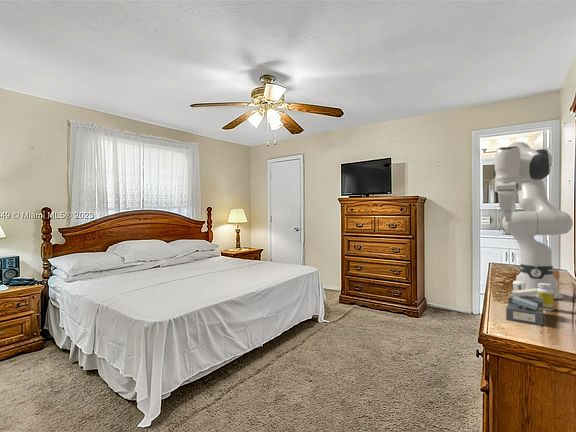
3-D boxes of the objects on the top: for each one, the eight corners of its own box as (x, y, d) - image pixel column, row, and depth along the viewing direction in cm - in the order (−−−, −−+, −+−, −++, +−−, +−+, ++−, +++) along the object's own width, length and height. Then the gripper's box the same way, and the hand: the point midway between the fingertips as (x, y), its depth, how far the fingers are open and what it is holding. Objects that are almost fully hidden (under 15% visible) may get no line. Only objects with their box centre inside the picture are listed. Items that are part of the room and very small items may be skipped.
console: (510, 308, 126) (510, 291, 126) (543, 313, 120) (542, 294, 120) (506, 319, 112) (506, 300, 112) (542, 325, 105) (542, 304, 105)
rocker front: (512, 299, 117) (513, 295, 117) (536, 307, 112) (537, 303, 112) (511, 302, 112) (512, 298, 112) (536, 310, 108) (537, 306, 108)
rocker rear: (515, 294, 124) (514, 290, 124) (537, 292, 119) (536, 288, 120) (514, 296, 119) (513, 293, 119) (537, 294, 115) (536, 290, 115)
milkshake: (529, 304, 132) (529, 280, 132) (513, 302, 135) (513, 279, 135) (527, 302, 136) (527, 278, 136) (512, 300, 139) (512, 277, 139)
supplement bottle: (557, 311, 122) (556, 285, 122) (540, 310, 123) (540, 285, 124) (548, 307, 128) (548, 282, 128) (533, 306, 129) (532, 282, 129)
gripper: (501, 189, 137) (501, 221, 137) (495, 185, 121) (495, 221, 121) (519, 188, 133) (519, 221, 133) (515, 184, 117) (516, 222, 117)
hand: (508, 221), depth 127 cm, fingers closed
